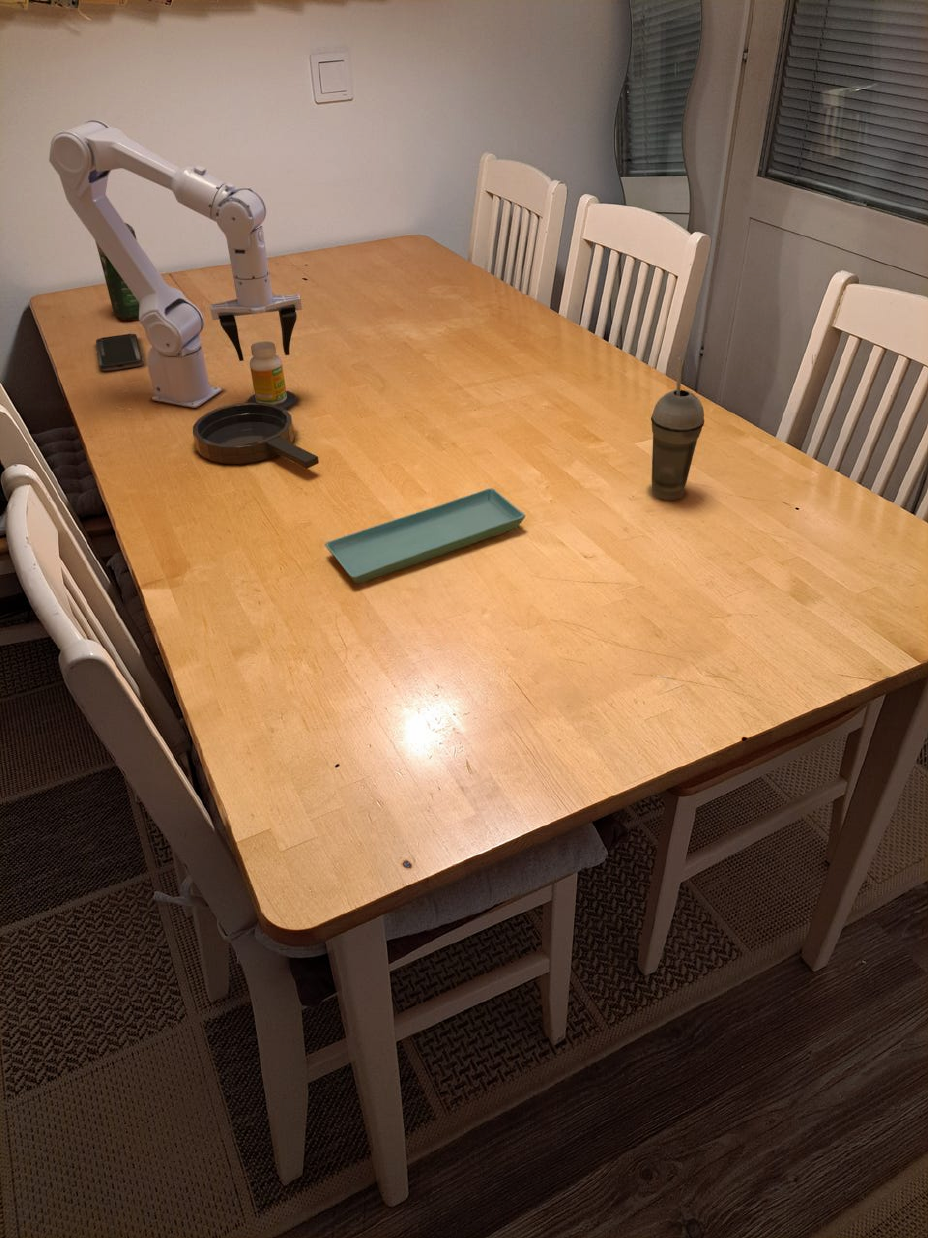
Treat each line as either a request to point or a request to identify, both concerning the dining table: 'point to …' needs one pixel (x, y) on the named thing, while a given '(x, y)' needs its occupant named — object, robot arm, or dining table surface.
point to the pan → (241, 432)
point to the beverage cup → (674, 440)
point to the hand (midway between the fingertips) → (263, 355)
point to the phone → (119, 352)
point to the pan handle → (292, 452)
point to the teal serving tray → (424, 535)
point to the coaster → (285, 405)
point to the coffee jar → (119, 289)
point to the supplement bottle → (267, 374)
